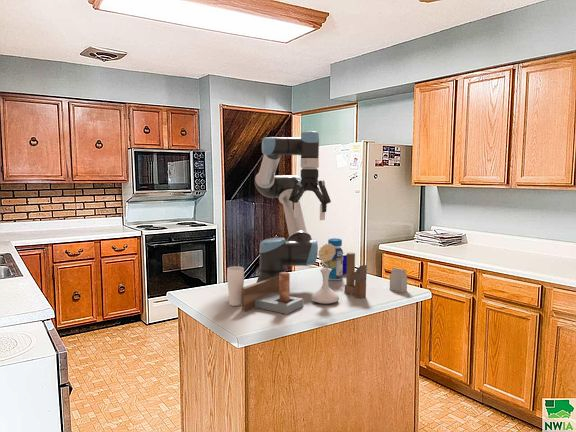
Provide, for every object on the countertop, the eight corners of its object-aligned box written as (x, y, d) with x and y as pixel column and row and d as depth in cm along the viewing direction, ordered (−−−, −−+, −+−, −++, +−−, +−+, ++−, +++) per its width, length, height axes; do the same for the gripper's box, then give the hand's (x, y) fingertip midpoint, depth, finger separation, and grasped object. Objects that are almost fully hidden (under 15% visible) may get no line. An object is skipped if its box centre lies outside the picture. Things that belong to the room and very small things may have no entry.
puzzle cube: (332, 275, 232) (332, 256, 231) (323, 271, 241) (323, 253, 240) (348, 273, 236) (349, 254, 235) (339, 269, 245) (339, 251, 244)
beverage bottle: (324, 276, 228) (325, 238, 226) (340, 276, 229) (341, 237, 227) (327, 280, 219) (328, 240, 217) (344, 280, 220) (345, 240, 218)
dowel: (277, 308, 175) (277, 273, 174) (283, 306, 179) (283, 271, 177) (285, 310, 173) (285, 275, 172) (291, 307, 177) (291, 273, 175)
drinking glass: (228, 301, 184) (228, 266, 182) (245, 302, 184) (245, 266, 182) (226, 306, 177) (225, 269, 176) (243, 307, 177) (242, 270, 176)
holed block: (255, 307, 176) (254, 299, 176) (272, 299, 186) (272, 292, 186) (286, 314, 168) (286, 306, 168) (303, 306, 178) (303, 298, 178)
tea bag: (401, 292, 199) (402, 270, 198) (389, 289, 205) (390, 267, 204) (406, 291, 201) (407, 269, 200) (394, 288, 207) (395, 266, 206)
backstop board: (241, 310, 173) (241, 287, 172) (276, 296, 193) (276, 275, 192) (245, 311, 171) (245, 288, 171) (280, 297, 191) (280, 276, 190)
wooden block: (359, 298, 190) (360, 256, 188) (344, 292, 199) (344, 252, 197) (366, 297, 191) (367, 256, 190) (350, 291, 201) (351, 252, 199)
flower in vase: (306, 299, 187) (307, 241, 185) (330, 296, 192) (331, 239, 189) (321, 308, 176) (322, 245, 173) (346, 305, 180) (347, 244, 178)
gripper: (281, 168, 193) (280, 217, 195) (329, 168, 177) (328, 221, 179) (291, 168, 198) (291, 216, 201) (339, 168, 183) (338, 220, 185)
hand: (309, 218), depth 190 cm, fingers open, 13 cm apart
